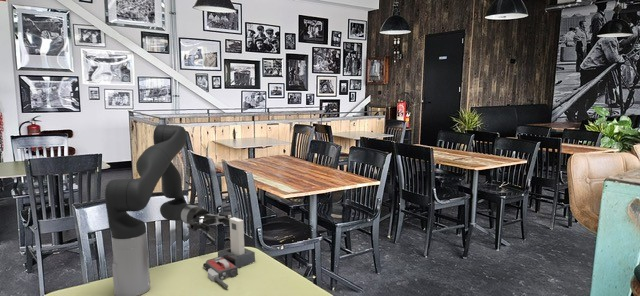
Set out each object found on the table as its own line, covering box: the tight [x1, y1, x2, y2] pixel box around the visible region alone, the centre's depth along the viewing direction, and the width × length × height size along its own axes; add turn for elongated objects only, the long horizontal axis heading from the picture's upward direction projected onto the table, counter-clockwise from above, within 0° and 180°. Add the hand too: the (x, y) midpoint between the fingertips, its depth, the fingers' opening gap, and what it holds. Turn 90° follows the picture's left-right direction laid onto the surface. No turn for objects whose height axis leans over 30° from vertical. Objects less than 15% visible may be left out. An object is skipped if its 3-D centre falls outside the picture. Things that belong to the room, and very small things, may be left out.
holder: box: [217, 246, 256, 269], centre depth 148 cm, size 10×8×4 cm
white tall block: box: [228, 216, 245, 256], centre depth 146 cm, size 5×2×15 cm, turn 46°
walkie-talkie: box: [202, 256, 239, 289], centre depth 137 cm, size 9×4×20 cm
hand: (219, 225), depth 153 cm, fingers open, 8 cm apart
